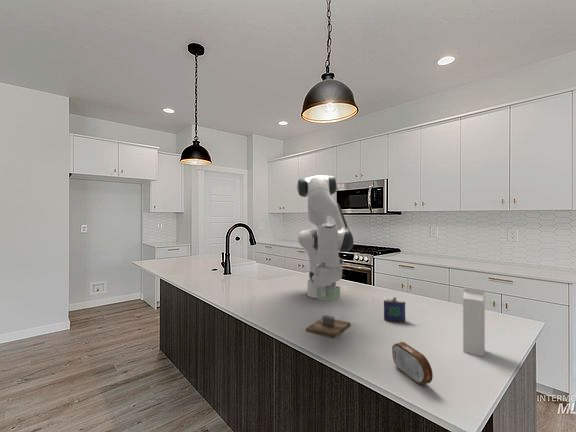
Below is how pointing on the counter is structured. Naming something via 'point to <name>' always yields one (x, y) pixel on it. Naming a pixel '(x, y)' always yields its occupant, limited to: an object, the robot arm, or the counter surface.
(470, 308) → the milk
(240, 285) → the counter surface
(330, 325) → the grey block
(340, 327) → the board
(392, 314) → the flask
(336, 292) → the pale green block
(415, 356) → the tin
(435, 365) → the counter surface
